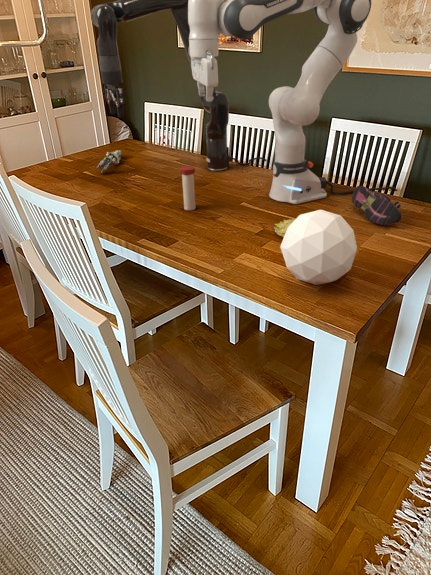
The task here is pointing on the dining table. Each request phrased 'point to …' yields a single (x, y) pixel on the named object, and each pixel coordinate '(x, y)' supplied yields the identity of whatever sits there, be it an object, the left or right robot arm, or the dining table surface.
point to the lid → (187, 170)
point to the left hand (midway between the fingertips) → (117, 115)
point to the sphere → (319, 247)
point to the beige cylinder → (188, 192)
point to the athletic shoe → (376, 206)
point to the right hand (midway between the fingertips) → (205, 98)
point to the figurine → (110, 160)
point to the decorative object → (283, 227)
